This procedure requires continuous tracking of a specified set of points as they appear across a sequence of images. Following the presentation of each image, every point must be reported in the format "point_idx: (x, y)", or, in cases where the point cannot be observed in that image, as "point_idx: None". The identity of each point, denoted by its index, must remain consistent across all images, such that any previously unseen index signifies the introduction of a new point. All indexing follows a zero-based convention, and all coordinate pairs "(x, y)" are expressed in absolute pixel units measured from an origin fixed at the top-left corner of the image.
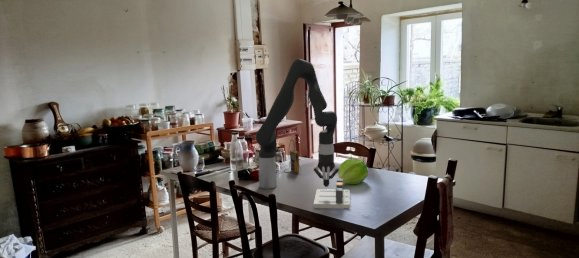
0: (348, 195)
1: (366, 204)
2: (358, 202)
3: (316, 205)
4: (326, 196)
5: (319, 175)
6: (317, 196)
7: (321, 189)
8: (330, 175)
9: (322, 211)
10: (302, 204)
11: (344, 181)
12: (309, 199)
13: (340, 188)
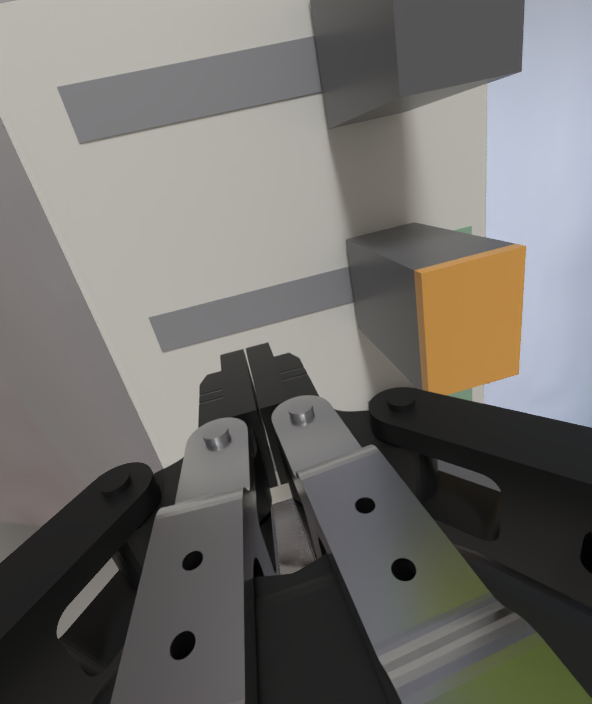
0: (473, 212)
1: (588, 296)
2: (532, 268)
3: None
4: (241, 321)
5: (125, 629)
6: (138, 351)
7: (42, 12)
8: (384, 448)
9: (282, 527)
10: (57, 473)
11: None
12: (43, 333)
13: (482, 480)
